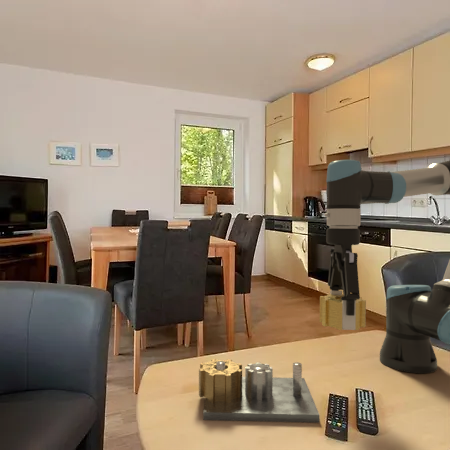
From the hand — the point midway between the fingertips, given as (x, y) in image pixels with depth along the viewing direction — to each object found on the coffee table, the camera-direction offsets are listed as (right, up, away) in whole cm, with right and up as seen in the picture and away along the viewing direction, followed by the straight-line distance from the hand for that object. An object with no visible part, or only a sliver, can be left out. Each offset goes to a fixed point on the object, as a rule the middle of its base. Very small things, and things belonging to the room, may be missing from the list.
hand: (341, 322), depth 87 cm
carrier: (-20, -18, -1) cm, 26 cm away
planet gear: (0, 0, 0) cm, 0 cm away
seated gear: (-28, -16, -1) cm, 33 cm away
